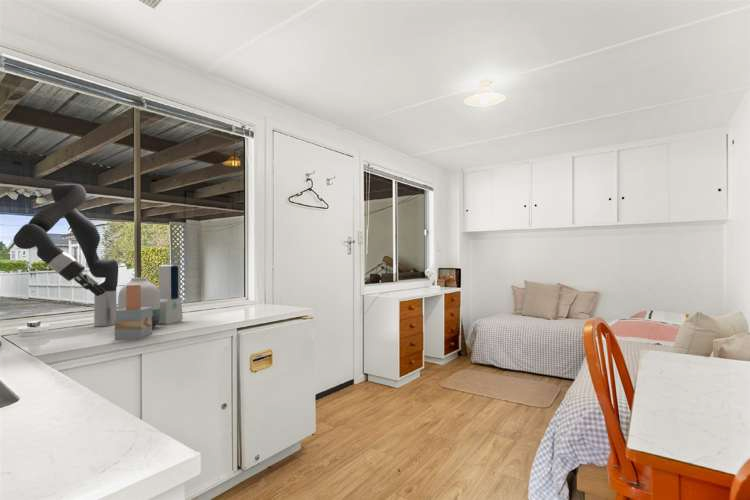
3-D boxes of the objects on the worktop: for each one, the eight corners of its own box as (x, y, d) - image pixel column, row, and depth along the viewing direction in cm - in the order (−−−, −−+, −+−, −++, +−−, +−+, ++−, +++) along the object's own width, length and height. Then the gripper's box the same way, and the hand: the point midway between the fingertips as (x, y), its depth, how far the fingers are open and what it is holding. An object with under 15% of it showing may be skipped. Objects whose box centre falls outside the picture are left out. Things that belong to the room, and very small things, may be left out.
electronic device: (166, 324, 193) (165, 264, 194) (153, 324, 194) (152, 265, 195) (183, 321, 205) (182, 264, 206) (170, 320, 206) (170, 264, 207)
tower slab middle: (127, 326, 167) (127, 317, 167) (152, 325, 168) (152, 316, 168) (114, 330, 157) (114, 320, 157) (140, 329, 158) (140, 319, 158)
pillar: (126, 308, 163) (126, 285, 164) (139, 307, 166) (139, 284, 166) (126, 309, 159) (126, 285, 160) (140, 308, 162) (140, 284, 162)
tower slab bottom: (126, 335, 167) (126, 326, 167) (151, 334, 168) (151, 325, 168) (114, 340, 157) (114, 330, 157) (141, 339, 158) (141, 329, 158)
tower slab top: (127, 317, 167) (127, 307, 167) (152, 316, 169) (152, 306, 169) (115, 320, 157) (115, 310, 158) (141, 319, 159) (141, 309, 159)
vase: (124, 327, 188) (124, 277, 189) (163, 324, 193) (163, 276, 194) (112, 333, 172) (112, 279, 173) (155, 330, 177) (155, 277, 178)
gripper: (71, 259, 148) (107, 287, 153) (79, 259, 160) (112, 286, 165) (53, 273, 145) (90, 302, 150) (62, 273, 158) (97, 299, 163)
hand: (102, 293), depth 158 cm, fingers open, 8 cm apart
